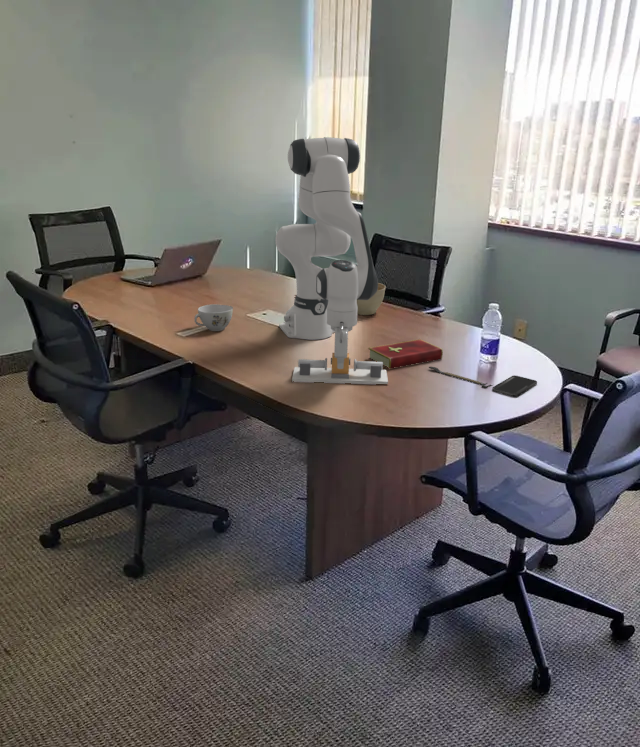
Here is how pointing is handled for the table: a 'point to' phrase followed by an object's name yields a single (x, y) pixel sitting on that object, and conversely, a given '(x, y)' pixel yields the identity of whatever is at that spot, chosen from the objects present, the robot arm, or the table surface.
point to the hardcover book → (405, 353)
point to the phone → (514, 386)
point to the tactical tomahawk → (460, 377)
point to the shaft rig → (359, 375)
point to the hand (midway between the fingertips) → (340, 362)
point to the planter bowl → (371, 302)
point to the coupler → (346, 365)
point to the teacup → (214, 316)
